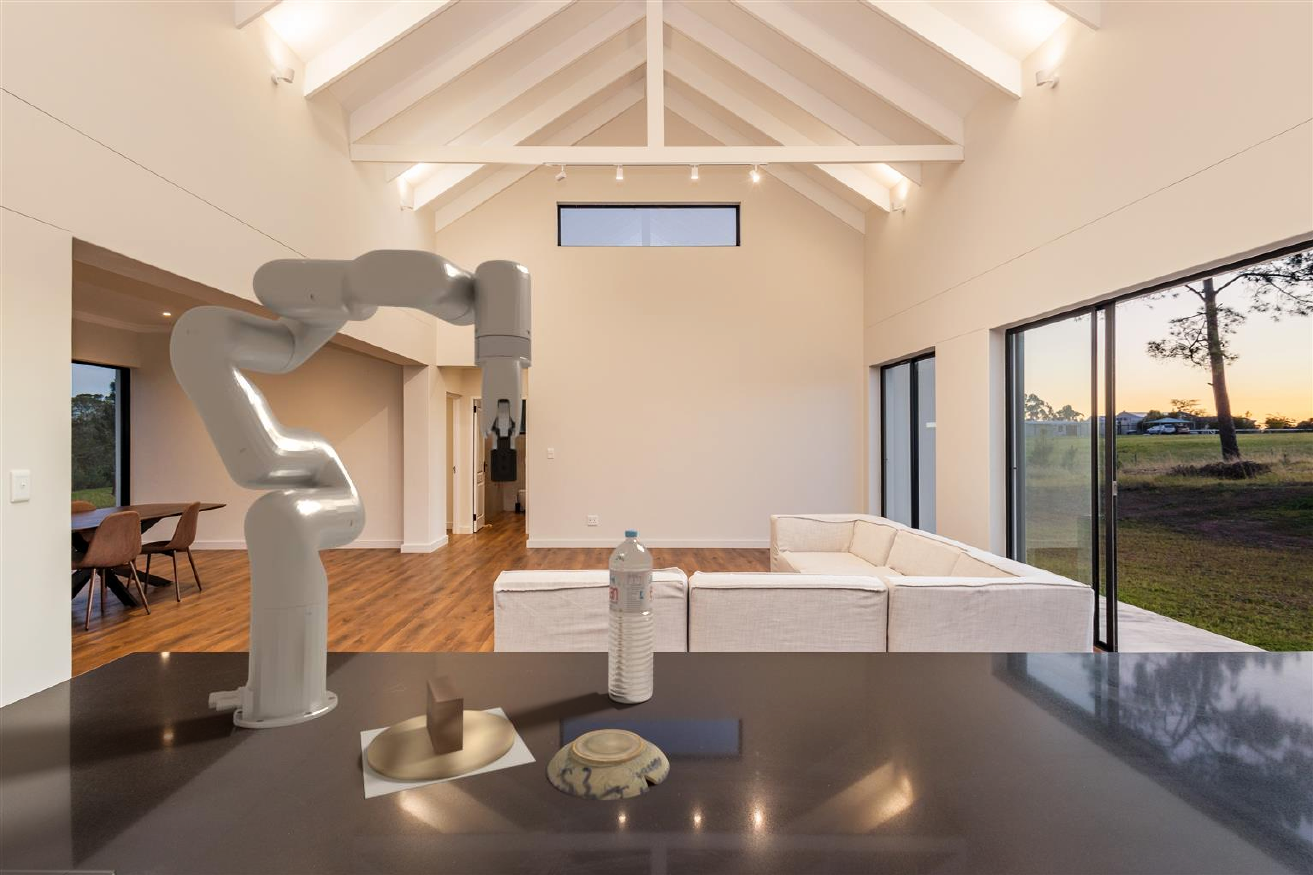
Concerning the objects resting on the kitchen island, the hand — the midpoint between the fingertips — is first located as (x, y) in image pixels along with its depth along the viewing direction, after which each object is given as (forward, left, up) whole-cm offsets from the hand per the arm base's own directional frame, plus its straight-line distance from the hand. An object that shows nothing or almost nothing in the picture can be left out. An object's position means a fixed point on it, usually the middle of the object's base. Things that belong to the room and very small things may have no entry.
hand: (503, 480), depth 83 cm
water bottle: (+20, +4, -33) cm, 39 cm away
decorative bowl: (+8, -16, -34) cm, 38 cm away
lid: (-8, -2, -32) cm, 33 cm away
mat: (-8, -2, -33) cm, 34 cm away
